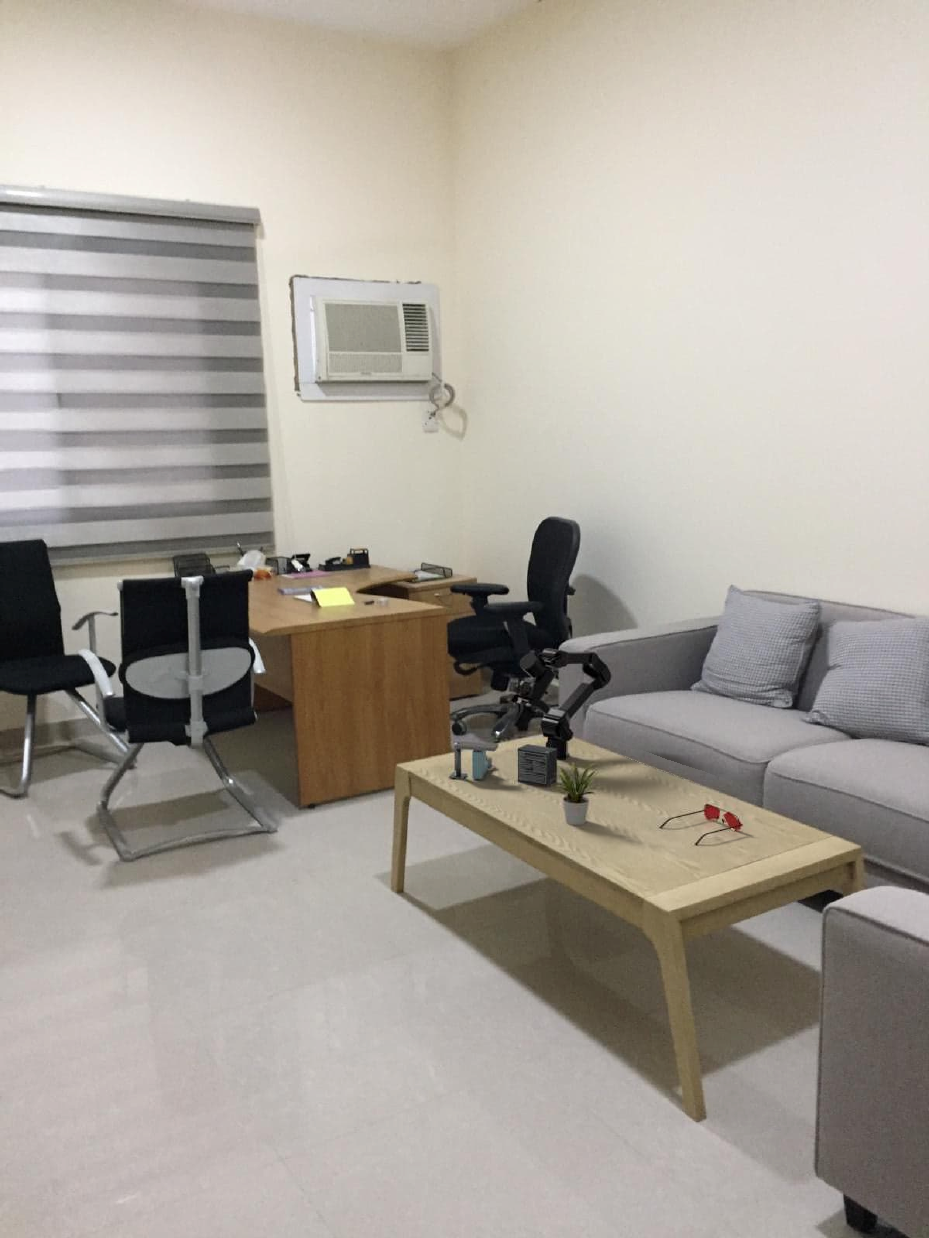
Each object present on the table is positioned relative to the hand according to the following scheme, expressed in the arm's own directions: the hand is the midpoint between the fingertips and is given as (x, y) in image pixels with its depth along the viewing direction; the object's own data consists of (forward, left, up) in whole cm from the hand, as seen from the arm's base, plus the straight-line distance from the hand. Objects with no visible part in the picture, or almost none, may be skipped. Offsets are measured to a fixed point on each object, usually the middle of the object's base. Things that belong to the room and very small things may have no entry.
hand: (514, 726), depth 314 cm
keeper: (+10, +14, -13) cm, 22 cm away
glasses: (-59, +41, -14) cm, 73 cm away
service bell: (+9, +3, -13) cm, 16 cm away
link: (+9, +8, -13) cm, 17 cm away
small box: (-10, +13, -13) cm, 21 cm away
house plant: (-28, +43, -13) cm, 53 cm away
